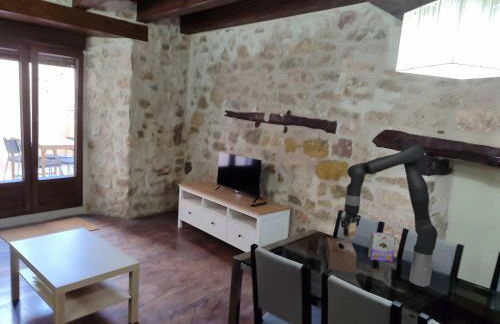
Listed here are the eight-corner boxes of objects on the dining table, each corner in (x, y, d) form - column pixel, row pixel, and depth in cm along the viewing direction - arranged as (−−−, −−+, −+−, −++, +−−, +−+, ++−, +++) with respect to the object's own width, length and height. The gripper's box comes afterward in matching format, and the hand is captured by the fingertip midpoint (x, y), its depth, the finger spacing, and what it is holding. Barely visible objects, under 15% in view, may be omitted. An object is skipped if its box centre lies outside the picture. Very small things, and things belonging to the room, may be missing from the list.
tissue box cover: (354, 273, 196) (356, 255, 195) (328, 269, 198) (330, 252, 197) (348, 255, 222) (350, 240, 221) (325, 252, 224) (327, 237, 222)
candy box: (390, 258, 222) (393, 233, 220) (392, 262, 216) (396, 236, 214) (367, 256, 223) (370, 231, 221) (369, 260, 217) (373, 234, 215)
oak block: (354, 237, 187) (356, 223, 186) (349, 239, 185) (350, 224, 184) (347, 235, 191) (349, 220, 190) (342, 236, 188) (344, 221, 188)
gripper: (349, 206, 179) (345, 238, 181) (366, 204, 187) (363, 235, 189) (337, 202, 185) (334, 234, 187) (355, 200, 193) (351, 231, 195)
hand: (348, 234), depth 188 cm, fingers closed on oak block, 4 cm apart
